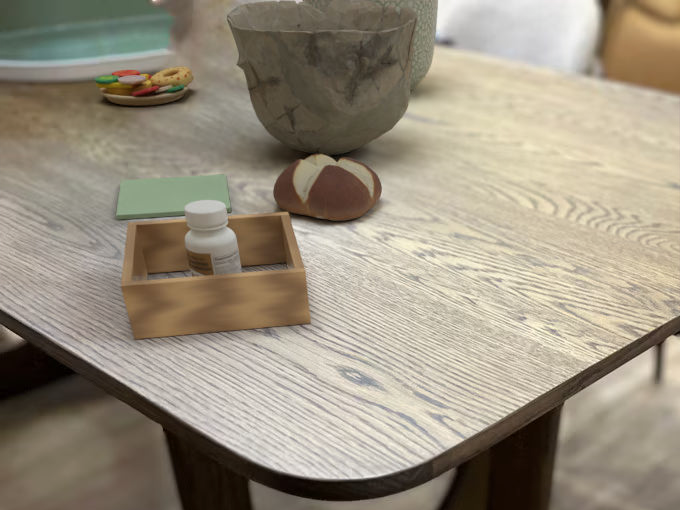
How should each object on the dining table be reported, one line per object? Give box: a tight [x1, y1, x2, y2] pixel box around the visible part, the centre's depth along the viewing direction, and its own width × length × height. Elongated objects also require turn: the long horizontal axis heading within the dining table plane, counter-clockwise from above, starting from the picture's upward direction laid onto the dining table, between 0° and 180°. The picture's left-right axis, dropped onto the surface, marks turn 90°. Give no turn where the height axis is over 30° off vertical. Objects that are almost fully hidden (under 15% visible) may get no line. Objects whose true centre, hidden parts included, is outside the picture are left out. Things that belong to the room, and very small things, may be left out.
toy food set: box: [94, 65, 195, 107], centre depth 127 cm, size 13×13×3 cm
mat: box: [115, 173, 232, 221], centre depth 95 cm, size 12×12×1 cm
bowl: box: [226, 0, 418, 156], centre depth 104 cm, size 22×22×15 cm
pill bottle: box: [184, 200, 243, 277], centre depth 73 cm, size 4×4×8 cm
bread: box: [272, 153, 383, 222], centre depth 92 cm, size 11×11×5 cm
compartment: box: [120, 211, 312, 340], centre depth 74 cm, size 15×15×4 cm
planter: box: [302, 0, 439, 92], centre depth 127 cm, size 21×21×19 cm
